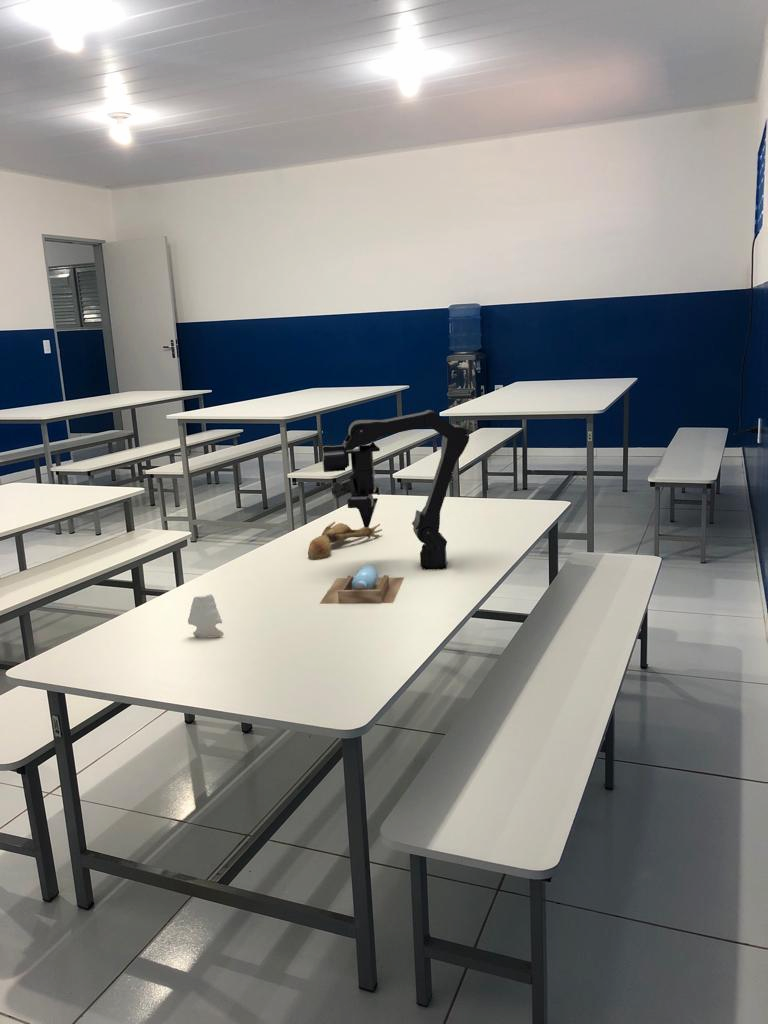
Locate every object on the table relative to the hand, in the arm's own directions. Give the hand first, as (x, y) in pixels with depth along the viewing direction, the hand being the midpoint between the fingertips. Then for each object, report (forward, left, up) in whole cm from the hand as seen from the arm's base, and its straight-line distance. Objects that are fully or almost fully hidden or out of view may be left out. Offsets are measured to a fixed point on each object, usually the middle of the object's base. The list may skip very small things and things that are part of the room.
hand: (366, 527), depth 223 cm
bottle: (-2, +11, -10) cm, 15 cm away
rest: (-1, +15, -13) cm, 20 cm away
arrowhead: (+29, +45, -13) cm, 55 cm away
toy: (+16, -29, -14) cm, 36 cm away
